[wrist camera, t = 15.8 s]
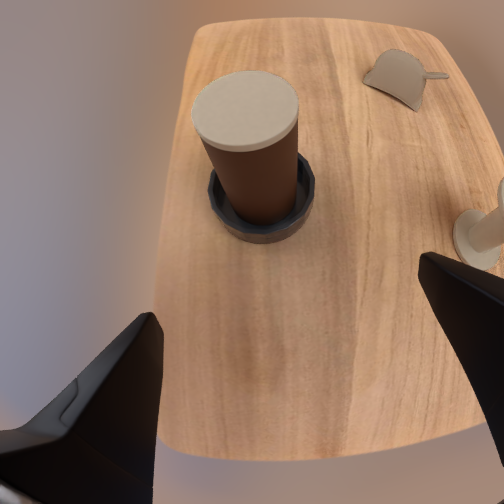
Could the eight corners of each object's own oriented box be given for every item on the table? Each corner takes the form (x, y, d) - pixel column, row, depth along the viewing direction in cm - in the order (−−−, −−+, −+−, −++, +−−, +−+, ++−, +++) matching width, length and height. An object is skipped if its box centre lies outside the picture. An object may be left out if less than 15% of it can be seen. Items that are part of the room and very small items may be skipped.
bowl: (326, 226, 24) (330, 215, 21) (228, 256, 24) (221, 248, 22) (293, 146, 26) (293, 130, 24) (207, 172, 26) (199, 157, 24)
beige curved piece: (375, 67, 28) (382, 33, 23) (436, 101, 26) (452, 70, 21) (361, 82, 27) (368, 46, 22) (427, 120, 25) (444, 87, 20)
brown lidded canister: (310, 192, 24) (320, 98, 14) (264, 240, 23) (244, 166, 13) (261, 155, 26) (243, 59, 15) (215, 198, 25) (170, 113, 14)
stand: (504, 260, 21) (557, 234, 13) (466, 280, 21) (522, 257, 13) (483, 205, 22) (528, 166, 15) (443, 219, 23) (489, 178, 15)
